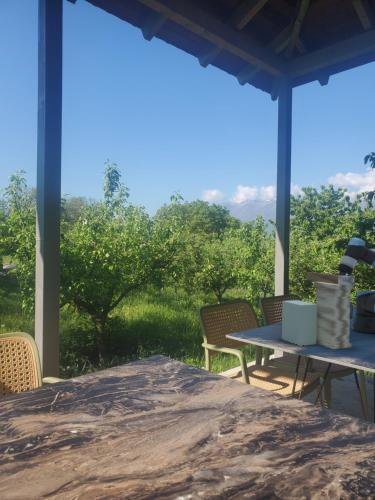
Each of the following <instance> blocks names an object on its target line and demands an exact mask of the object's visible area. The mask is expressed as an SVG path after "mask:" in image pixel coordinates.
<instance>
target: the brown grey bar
mask: <svg viewBox="0 0 375 500" xmlns="http://www.w3.org/2000/svg"><path fill="white" fill-rule="evenodd" d="M355 278H356V277H355V276H351V275H349V276H342V275H336V274H330V273H324V272H322V273H321V272H314V271H312V272H311V271H309V272H306V281H312V282H325V283H332V284H339V285H346V286H354V287H355V281H356V280H355Z"/></svg>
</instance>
